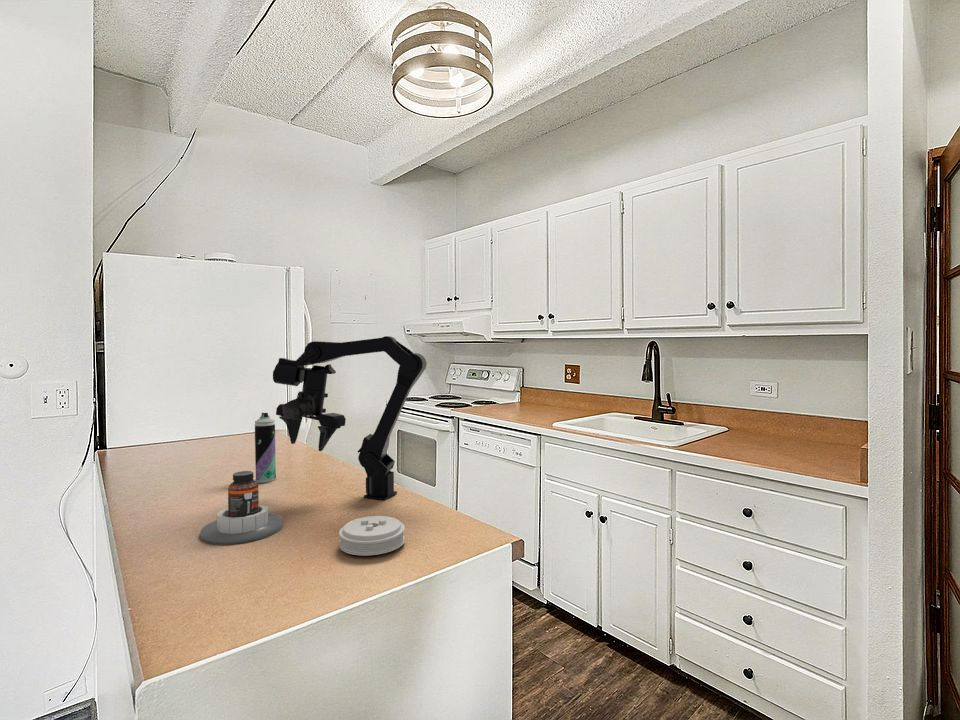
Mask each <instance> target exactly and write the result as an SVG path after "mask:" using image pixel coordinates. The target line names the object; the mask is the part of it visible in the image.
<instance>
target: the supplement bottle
mask: <svg viewBox="0 0 960 720" xmlns="http://www.w3.org/2000/svg"><path fill="white" fill-rule="evenodd" d="M254 478H255V477H254V471H252V470H241V471H237V472H234V473H233V474H232V480H233V481H232V482H231V483H230V484H229V485H228V489H227V496H228V497H227V504H228V505H227V508H228V517H231V518H235V517H245V516H250V515H254V514H256V513H259V505H260V504H259V500H260V499H259V495H260V494H259V483H257V482H256V480H254Z"/></svg>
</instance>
